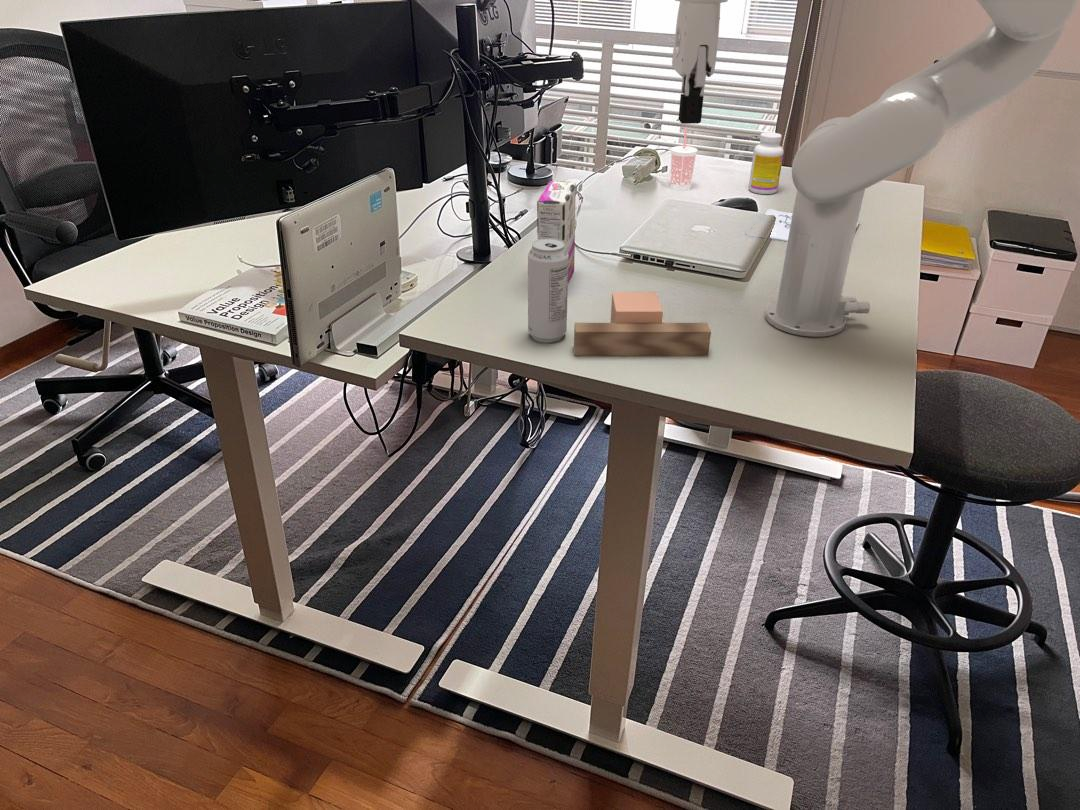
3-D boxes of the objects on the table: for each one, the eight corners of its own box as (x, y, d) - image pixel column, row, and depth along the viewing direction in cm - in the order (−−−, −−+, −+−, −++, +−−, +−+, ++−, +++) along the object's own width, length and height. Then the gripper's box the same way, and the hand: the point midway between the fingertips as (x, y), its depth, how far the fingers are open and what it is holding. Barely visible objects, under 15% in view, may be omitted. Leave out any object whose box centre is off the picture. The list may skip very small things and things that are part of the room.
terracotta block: (653, 326, 132) (656, 292, 129) (659, 347, 126) (663, 311, 123) (610, 326, 132) (612, 292, 129) (614, 347, 126) (616, 311, 123)
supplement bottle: (780, 195, 190) (789, 138, 184) (751, 195, 190) (759, 138, 184) (773, 186, 196) (782, 131, 189) (745, 186, 196) (753, 130, 189)
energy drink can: (544, 323, 133) (545, 234, 125) (574, 334, 130) (577, 243, 122) (520, 336, 129) (519, 244, 121) (550, 348, 126) (551, 254, 118)
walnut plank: (704, 346, 126) (707, 322, 124) (708, 355, 124) (711, 331, 122) (573, 346, 126) (574, 322, 124) (574, 355, 124) (575, 331, 122)
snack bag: (843, 255, 160) (845, 245, 159) (741, 237, 168) (742, 227, 167) (860, 226, 175) (863, 216, 173) (766, 211, 183) (767, 201, 182)
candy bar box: (548, 268, 152) (549, 179, 144) (574, 270, 152) (577, 181, 143) (535, 292, 143) (536, 199, 135) (564, 295, 142) (566, 201, 134)
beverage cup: (694, 185, 197) (700, 124, 189) (692, 192, 192) (698, 130, 184) (668, 183, 198) (673, 122, 190) (665, 190, 193) (671, 129, 185)
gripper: (667, -16, 124) (658, 111, 134) (684, -6, 111) (672, 134, 121) (717, -16, 124) (704, 111, 134) (740, -6, 111) (723, 134, 121)
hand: (689, 122), depth 127 cm, fingers closed
